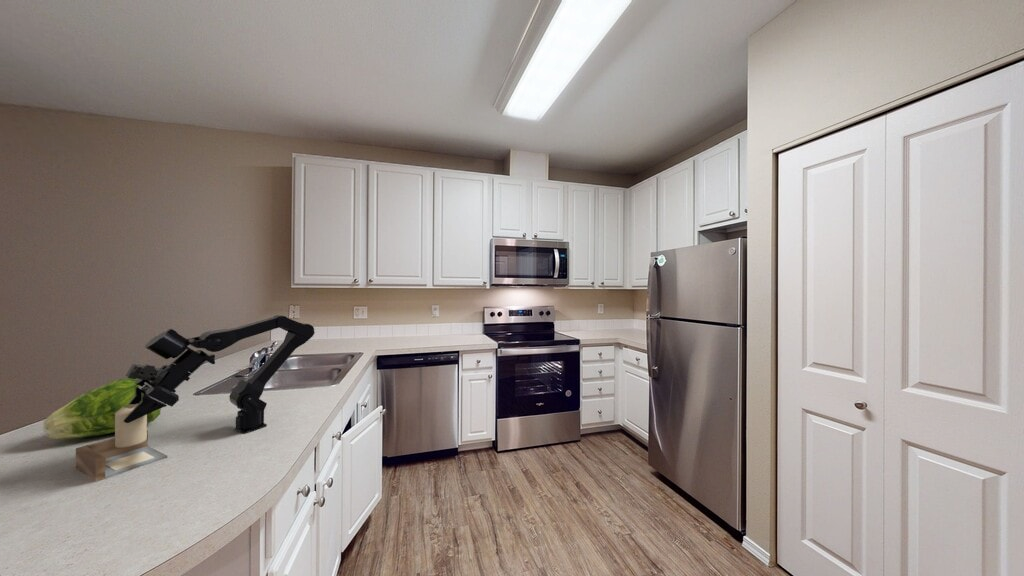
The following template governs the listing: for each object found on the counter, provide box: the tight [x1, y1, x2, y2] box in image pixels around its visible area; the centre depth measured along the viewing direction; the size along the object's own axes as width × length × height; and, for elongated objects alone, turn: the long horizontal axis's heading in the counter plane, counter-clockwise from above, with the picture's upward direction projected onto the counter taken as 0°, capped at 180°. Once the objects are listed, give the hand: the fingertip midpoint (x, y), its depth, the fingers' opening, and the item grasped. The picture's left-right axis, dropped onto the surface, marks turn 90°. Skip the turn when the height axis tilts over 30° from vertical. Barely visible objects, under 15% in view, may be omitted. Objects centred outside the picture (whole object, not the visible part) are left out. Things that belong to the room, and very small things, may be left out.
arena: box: [75, 429, 168, 483], centre depth 87 cm, size 12×14×5 cm
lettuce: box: [42, 377, 162, 440], centre depth 104 cm, size 17×23×16 cm
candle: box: [114, 404, 148, 448], centre depth 87 cm, size 6×6×10 cm
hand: (123, 419), depth 86 cm, fingers closed on candle, 5 cm apart
